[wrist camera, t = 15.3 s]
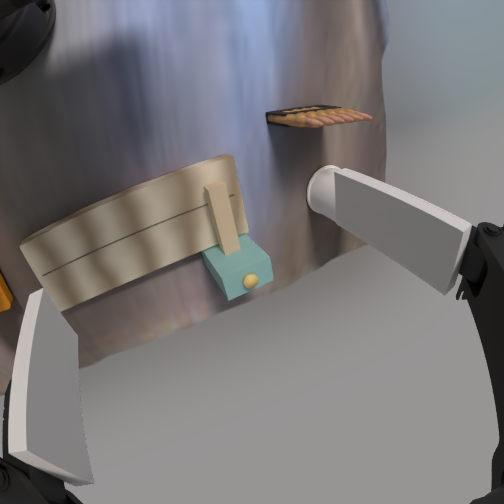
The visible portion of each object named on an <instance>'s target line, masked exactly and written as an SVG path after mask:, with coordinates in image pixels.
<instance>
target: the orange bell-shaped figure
mask: <svg viewBox="0 0 504 504" xmlns="http://www.w3.org/2000/svg"><path fill="white" fill-rule="evenodd" d="M12 300H13V296H12V294H11V293H10V291H9V289H8V287H7V285H6V283H5V281H4V279H3V277H2V275H1V273H0V312H2V311H5V310H8V309H9V308H10V306H11V303H12Z"/></svg>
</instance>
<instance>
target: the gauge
mask: <svg viewBox="0 0 504 504" xmlns="http://www.w3.org/2000/svg"><path fill="white" fill-rule="evenodd" d="M203 187H204V190H205V194H206V198H207V202H208V206H209V209H210V213H211V217H212V221H213V224H214V228H215V232H216V235H217V239H218V242H219V244H217V245H215V246H212V247H210V248H207V249H205V250H203V251H201V253H202V256H203V259H204V262H205V265H206V267H207V268H208V270H209V271H210V273H211V274H212V276H213V278H214V279H215V281H216V282H217V284H218V285H219V287H220V288H221V290H222V291H223V293H224V294H225V296H226V297H227V299H228V300H229V301H230V300H232V299H234V298H236V297H238V296H240V295H243V294H245V293H247V292H249V291H251V290H253V289H255V288H258V287H260V286H262V285H264V284H266V283H268V282H270V281H272V280H274V279H273V273H272V267H271V260H270V257H269V256H268V255H267V254H266V253H265V252H264V251H263V250H262V249H261V248H260V247H259V246H258V245H257V244H255V243H254V242H253V241H252V240H251V239H250V238H249V237H248V236H247V235H246V234H245V233H244V234H242V235H239V236H238V235H237V231H236V226H235V222H234V218H233V213H232V209H231V205H230V200H229V196H228V191H227V187H226V184H225V183H224V182H222V181H221V180H219V181H217V182H214V183H211V184H208V185H205V186H203Z"/></svg>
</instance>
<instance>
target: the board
mask: <svg viewBox="0 0 504 504" xmlns="http://www.w3.org/2000/svg"><path fill="white" fill-rule="evenodd" d="M219 180H221V181H222V182H224V183H225V184H226V187H227V191H228V196H229V200H230V205H231V209H232V213H233V218H234V222H235V226H236V231H237V235H238V236H239V235H242V234H244V233H246V232H249V230H248V225H247V220H246V216H245V211H244V206H243V201H242V196H241V191H240V186H239V181H238V176H237V172H236V167H235V162H234V157H233V156H231V155H229V154H224V155H221V156H218V157H214V158H211V159H208V160H205V161H202V162H199V163H196V164H193V165H190V166H187V167H184V168H181V169H178V170H176V171H173V172H170V173H167V174H164V175H162V176H159V177H156V178H154V179H151V180H149V181H146V182H143V183H141V184H138V185H136V186H133V187H131V188H128V189H126V190H124V191H121V192H119V193H116V194H114V195H112V196H109V197H107V198H105V199H103V200H100V201H98V202H96V203H94V204H91V205H89V206H87V207H85V208H83V209H81V210H79V211H76V212H74V213H72V214H70V215H68V216H66V217H64V218H62V219H60V220H58V221H56V222H54V223H52V224H50V225H48V226H47V227H45V228H43V229H41V230H39V231H37V232H35V233H33V234H32V235H30V236H28V237H26V238H24V239H23V241H22V243H21V245H20V246H19V247H20V249H21V251H22V253H23V255H24V256H25V258H26V260H27V262H28V263H29V265H30V267H31V268H32V270H33V272H34V273H35V275H36V277H37V278H38V280H39V282H40V283H41V285H42V286H43V288H44V289H45V291H46V292H47V294H48V295H49V297H50V298H51V300H52V301H53V303H54V304H55V306H56V307H57V308H58V310H59V311H60V312H62V311H64V310H66V309H68V308H71V307H73V306H75V305H77V304H79V303H82V302H84V301H86V300H88V299H91V298H93V297H95V296H97V295H100V294H102V293H104V292H107V291H109V290H111V289H113V288H116V287H118V286H120V285H123V284H125V283H127V282H129V281H132V280H134V279H136V278H139V277H141V276H143V275H146V274H148V273H150V272H153V271H155V270H157V269H160V268H162V267H164V266H167V265H169V264H172V263H174V262H176V261H179V260H181V259H183V258H186V257H188V256H191V255H193V254H195V253H198V252H200V251H203V250H205V249H207V248H210V247H212V246H215V245H217V244H219V242H218V239H217V235H216V232H215V228H214V224H213V221H212V217H211V213H210V209H209V206H208V202H207V198H206V194H205V190H204V187H203V186H205V185H208V184H211V183H214V182H217V181H219Z"/></svg>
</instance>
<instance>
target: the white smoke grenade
mask: <svg viewBox="0 0 504 504" xmlns="http://www.w3.org/2000/svg"><path fill="white" fill-rule="evenodd" d="M338 170H341V169H339V168H338V167H336V166H332V165H328V166H324V167H322V168H320V169H319V170H317V171H316V172H315V173H314V175H313V176H312V177H311V179H310V181H309V184H308V187H307V202H308V204H309V206H310V208H311V209H312V210H313V211H315V212H316V213H319V214H323V215H325V216H326V217H328V218H330V219H331V220H333V221H335V222H336V205H335V180H334V172H335V171H338ZM356 237H357V236H356Z"/></svg>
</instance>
